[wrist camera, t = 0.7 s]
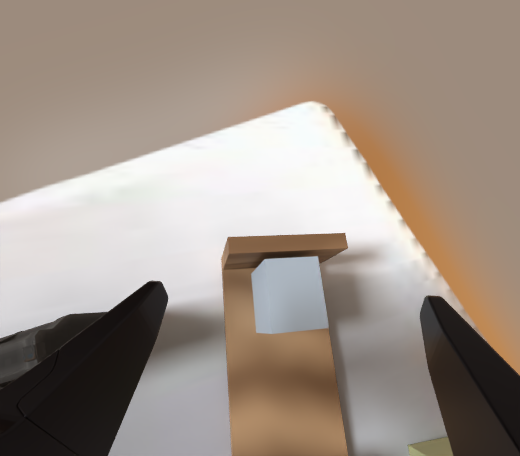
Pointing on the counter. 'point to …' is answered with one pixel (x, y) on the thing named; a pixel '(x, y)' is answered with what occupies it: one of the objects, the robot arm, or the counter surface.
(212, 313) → the counter surface
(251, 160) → the counter surface
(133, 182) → the counter surface
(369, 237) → the counter surface
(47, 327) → the magazine
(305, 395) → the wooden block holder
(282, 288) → the pale blue block
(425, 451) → the pale yellow block
